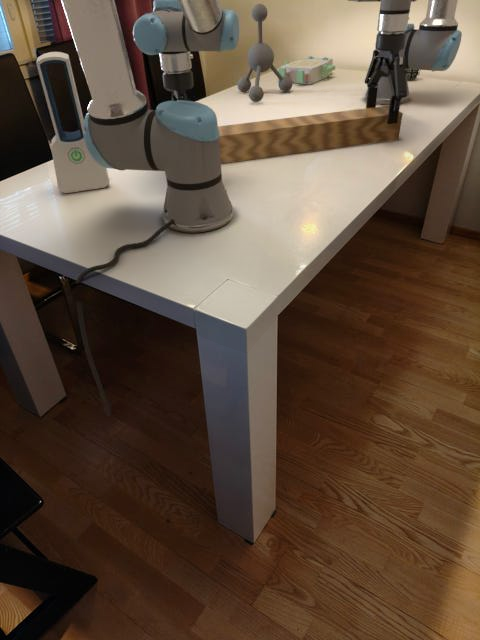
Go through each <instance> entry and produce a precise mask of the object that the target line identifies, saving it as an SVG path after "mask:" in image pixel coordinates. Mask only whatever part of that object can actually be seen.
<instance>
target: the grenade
mask: <svg viewBox="0 0 480 640" xmlns="http://www.w3.org/2000/svg"><path fill="white" fill-rule="evenodd" d="M420 74H421V71H420V70H416V69H408V70H407V81H414V80H415V79H417V78H418V76H419V75H420Z"/></svg>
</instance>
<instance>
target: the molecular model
mask: <svg viewBox="0 0 480 640" xmlns="http://www.w3.org/2000/svg"><path fill="white" fill-rule="evenodd" d="M251 16H252V19H253V20H254V21H255V22H257V43H255V44H253V45H252V46H251V47H250V49H249V50H248V53H247V62H248V65H249V69H248V71H247V73H246V76H242V77H240V78H239V79H238V81H237V89H238V90H239V92H241V93H247V92H248V98H249V99H250V101H252V102H253V103H258V102H261V101H262V100H263V99H264V89H263V88H262V87H261V86H260V81H261V73H265V72H267V71H269V70H271V71H272V72H273V73H274V75H275V76H276V77H277V79H278V78H279V81H278V88H279V90H280V91H282V92H284V93H287V92H289V91H291V89H292V88H293V82H292V79H291V78H290V77H288V76H284V77H282V75H281V74H280V73H279V72H278V69H277V68H276V67H275V65H274V61H275V54H274V51H273V48H272V47H271V46H270V45H268V44H267V43H265V42H263V22H264V21H266V19H267V17H268V8H267V7H266V5H264V4H263V3H257V4H255V5H254V6H253V8H252V10H251ZM253 71H254V72H255V80H254V85H252V81H251V79H250V78H251V75H252V73H253Z"/></svg>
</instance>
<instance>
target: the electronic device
mask: <svg viewBox="0 0 480 640" xmlns="http://www.w3.org/2000/svg"><path fill="white" fill-rule="evenodd" d="M55 63H57V64H62V65H63V68H64V72H65V77H66V81H67V85H68V89H69V93H70V97H71V101H72V104H73V105H72V106H73V109H74V113H75V117H76V121H77V126H78V130H75V131H64V130H63V127H62V122H61V119H60V115H59V111H58V108H57V104H56V100H55V96H54V93H53V90H52V85H51V81H50V78H49V74H48V73H49V72H48V71H47V66H46V65H49V64H55ZM35 64H36V67H37V71H38V75H39V79H40V82H41V86H42V90H43V93H44V96H45V101H46V104H47V108H48V111H49V115H50V119H51V122H52V126H53V129H54V133H55V135H54V136H53V137H52V139H51V144H50V150H51V155H52V156H51V157H52V161H53V166H54V173H55V178H56V184H57V188H58V190H59V191H60V192H62V193H63V194H69V193H76V192H77V193H78V192H83V191H90V190H98V189H103V188H107V187H108V184H109V183H110V178H109V172H108V168H105V167H103V166H101V165H99V164H98V163H97V162H96V161H95V160H94V159H93V158H92V156H91V155H90V153H89V151H88V149H87V147H86V144H85V140H84V133H85V130H84V129H83V123H84V119H85V118H84V116H83V115H84V114H83V111H82V107H81V102H80V99H79V94H78V89H77V86H76V81H75V77H74V73H73V69H72V64H71V59H70V56H69V54H68V53H65V52H62V51H49V52H46V53H42V54H41V55H40V56H38V57H37V59H36V62H35Z"/></svg>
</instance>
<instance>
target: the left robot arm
mask: <svg viewBox="0 0 480 640" xmlns="http://www.w3.org/2000/svg"><path fill="white" fill-rule="evenodd" d="M60 1H61V4H62V7H63V10H64V14H65V17H66V19H67V24H68V26H69V29H70V32H71V36H72V39H73V42H74V46H75V48H76V52H77V55H78V58H79V61H80V65H81V68H82V71H83V74H84V77H85V80H86V83H87V87H88V90H89V93H90V97H91V100H90V101H89V104H87V109H86V110H87V113H86V114H85V116H84V118H83V119H84V123H83V129H84V130H85V133H84V140H85V144H86V147H87V149H88V151H89V153H90V155H91V156H92V158H93V159H94V160H95V161H96V162H97V163H98V164H99V165H101V166H103V167H105V168H106V169H114V170H117V171H126V170H127V171H129V170H130V171H149V172H151V171H152V172H164V174H165V180H166V190H165V191H166V192H165V196H164V203H163V207H162V218H163V222H164V225H162V227H160V228H159V229H157V230H156V231H155V232H154V233H153V234H152V235H151V236H150V237H149V238H147V239H146V240H143V241H140V242H136V243H128V244H124V245H122V246H119V247H118V248H117V249H116V250H115V252H114V255H113V258H112V259H111V260H110V261H109V262H106V263H101V264H98V265H94V266H90V267H88V268H86V269H85V270H83V271H82V272H81V273H80V274H79V275H78V277H77V279H76V281H75V284H80V283H82V281H83V279H84V278H85V277H86V276H87V275H89V274H90V273H92V272H96V271H101V270H105V269H108V268H111V267H112V266H114V265H115V264H116V263H117V262H118V260H119V256H120V254H121V252H123V251H125V250H129V249H135V248H140V247H144V246H146V245H148V244H151V243H152V242H153V241H154V240H155V239H157V238H158V236H159V235H160V234H162V233H163V232H164V231H166V230H167V229H168V228H169V229H171V230H173V231H177V232H180V233H190V234H191V233H192V234H193V233H194V234H195V233H196V234H197V233H205V232H206V233H207V232H210V231H215V230H216V229H220V228H222V227H224V226H226V225H227V224H228V223H230V221H231V220H232V218H233V216H234V212H233V211H234V210H233V205H232V201H231V200H230V197H229V195H228V190H227V189H226V187H225V184H224V182H223V175H222V174H223V173H222V164H221V159H220V144H219V137H220V134H219V130H218V126H219V125H218V117H217V114H216V112H215V111H214V109H212V108H211V107H209V106H208V105H206V104H205V103H201V102H197V101H193V100H190V97H189V96H188V93H186V91H187V90H190V89H192V88H194V85H195V84H194V83H195V82H194V74H193V73H194V72H193V71H192V70H191V69H192V68H193V65H192V59H194V55H193V53H191V52H218V53H220V52H228V51H234V50H235V49H236V48H237V47H238V44H239V40H240V21H239V16H238V14H237V12H236V11H235V10H233V9H227V8H224V9H223V8H222V5H221V3H220V0H152V7H153V8H152V9H153V10H152V12H145V13H144V14H143V15H142V16H140V17H138V19H137V20H136V21H135V22H134V25H133V29H132V37H133V41H134V44H135V45H136V47H137V48H138V49H139V50H140V51H141V52H142V53H144V54H145V55H148V56H155V55H159V62H160V68H161V69H160V70H161V71H162V82H163V88H164V89H165V90H166V91H168V92H171V100H167V101H163V102H160V103H159V104H158V105H157V106H156V109H150V108H149V104H148V100H147V96H146V95H145V94H143V92H141V91H140V90H138V89H137V88H136V83H135V80H134V75H133V71H132V67H131V62H130V58H129V55H128V50H127V47H126V42H125V39H124V38H125V37H124V34H123V30H122V29H123V28H122V26H121V21H120V19H119V18H120V17H119V13H118V9H117V4H116V1H115V0H60ZM76 308H77V316H78V323H79V329H80V334H81V339H82V343H83V347H84V350H85V351H84V352H85V354H86V357H87V361H88V364H89V367H90V369H91V373H92V376H93V378H94V380H95V381H94V382H95V383H96V386H97V389H98V391H99V394H100V398H101V400H102V403H103V407H104V410H105V413H106V416H107V417H110V416H112V414H111V410H110V406H109V403H108V400H107V397H106V393H105V391H104V388H103V385H102V382H101V379H100V376H99V373H98V371H97V368H96V365H95V362H94V359H93V355H92V352H91V348H90V346H89V340H88V336H87V332H86V331H87V330H86V327H85V320H84V313H83V312H84V311H83V303H82V301H78V300H76Z"/></svg>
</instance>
